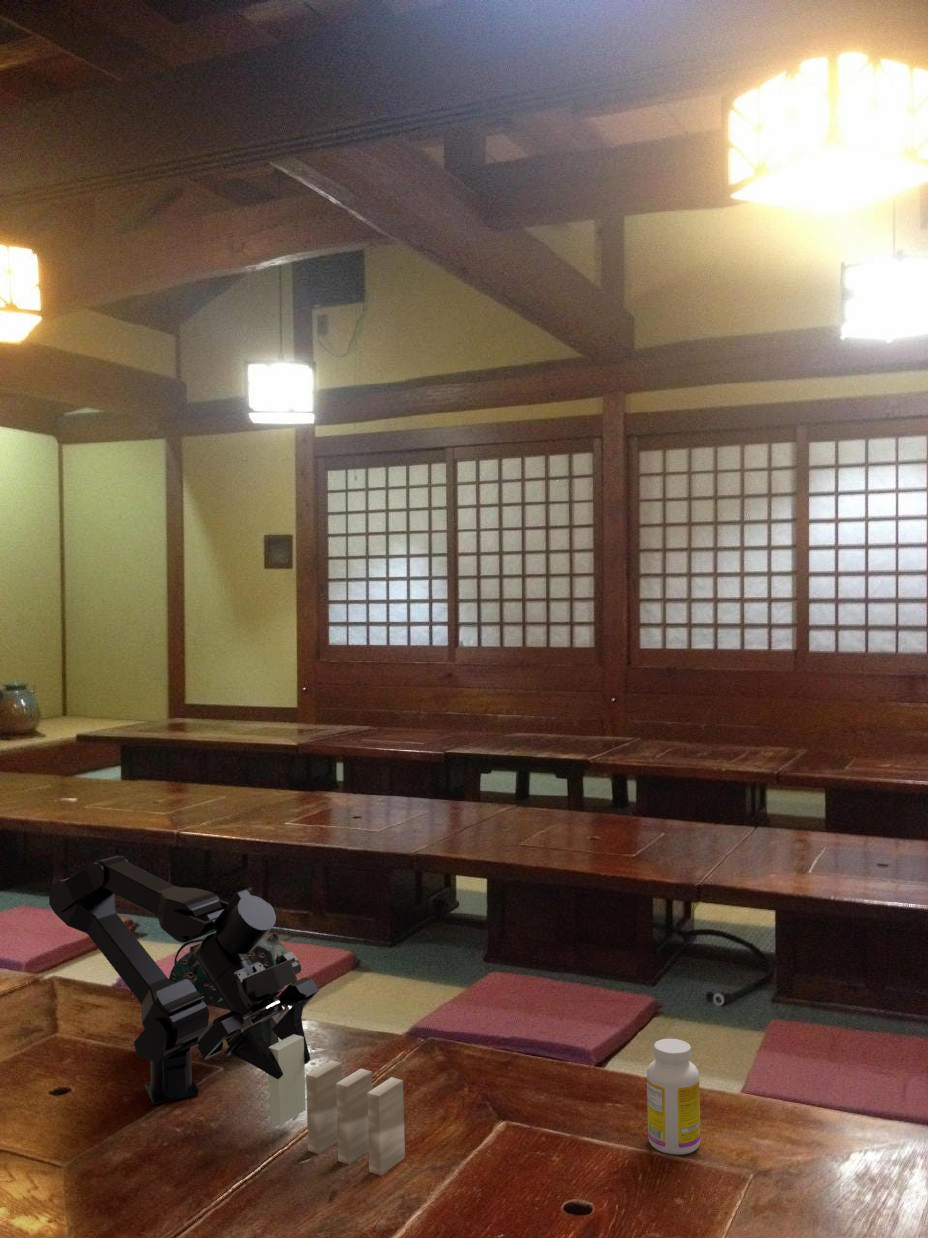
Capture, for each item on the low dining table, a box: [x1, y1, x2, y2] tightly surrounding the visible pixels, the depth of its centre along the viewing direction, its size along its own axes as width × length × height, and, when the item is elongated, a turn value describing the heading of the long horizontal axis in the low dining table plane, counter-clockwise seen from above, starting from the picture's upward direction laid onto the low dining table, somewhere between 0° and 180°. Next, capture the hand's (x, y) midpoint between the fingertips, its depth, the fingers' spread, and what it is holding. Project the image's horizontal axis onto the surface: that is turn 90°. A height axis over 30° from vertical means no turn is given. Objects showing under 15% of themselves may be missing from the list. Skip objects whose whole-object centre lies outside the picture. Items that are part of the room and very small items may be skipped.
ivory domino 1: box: [305, 1059, 343, 1155], centre depth 146 cm, size 2×5×10 cm, turn 147°
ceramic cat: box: [168, 931, 288, 1047], centre depth 178 cm, size 20×6×20 cm, turn 77°
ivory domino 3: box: [367, 1076, 406, 1177], centre depth 140 cm, size 2×5×10 cm, turn 147°
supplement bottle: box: [646, 1038, 701, 1156], centre depth 144 cm, size 7×7×13 cm
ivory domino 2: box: [336, 1068, 373, 1165], centre depth 143 cm, size 2×5×10 cm, turn 147°
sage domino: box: [268, 1034, 307, 1126], centre depth 149 cm, size 2×5×10 cm, turn 147°
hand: (294, 1069), depth 148 cm, fingers closed on sage domino, 5 cm apart
